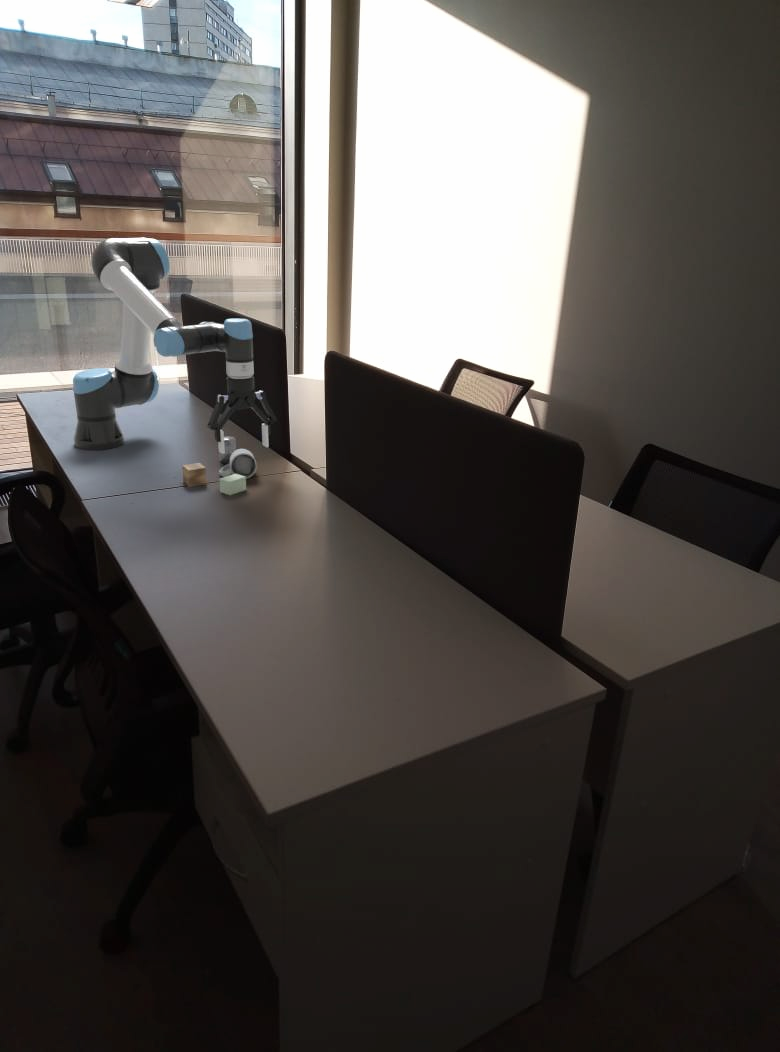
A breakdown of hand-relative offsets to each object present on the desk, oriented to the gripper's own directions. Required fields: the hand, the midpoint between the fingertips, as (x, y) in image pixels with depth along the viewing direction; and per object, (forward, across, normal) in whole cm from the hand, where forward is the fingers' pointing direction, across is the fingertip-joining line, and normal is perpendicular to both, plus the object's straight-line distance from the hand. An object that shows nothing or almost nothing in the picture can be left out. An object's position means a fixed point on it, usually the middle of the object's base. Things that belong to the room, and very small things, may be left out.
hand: (244, 449), depth 222 cm
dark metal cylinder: (+8, +1, +15) cm, 17 cm away
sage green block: (+8, -8, -10) cm, 16 cm away
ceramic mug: (+8, -2, +1) cm, 8 cm away
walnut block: (+8, -15, 0) cm, 17 cm away
